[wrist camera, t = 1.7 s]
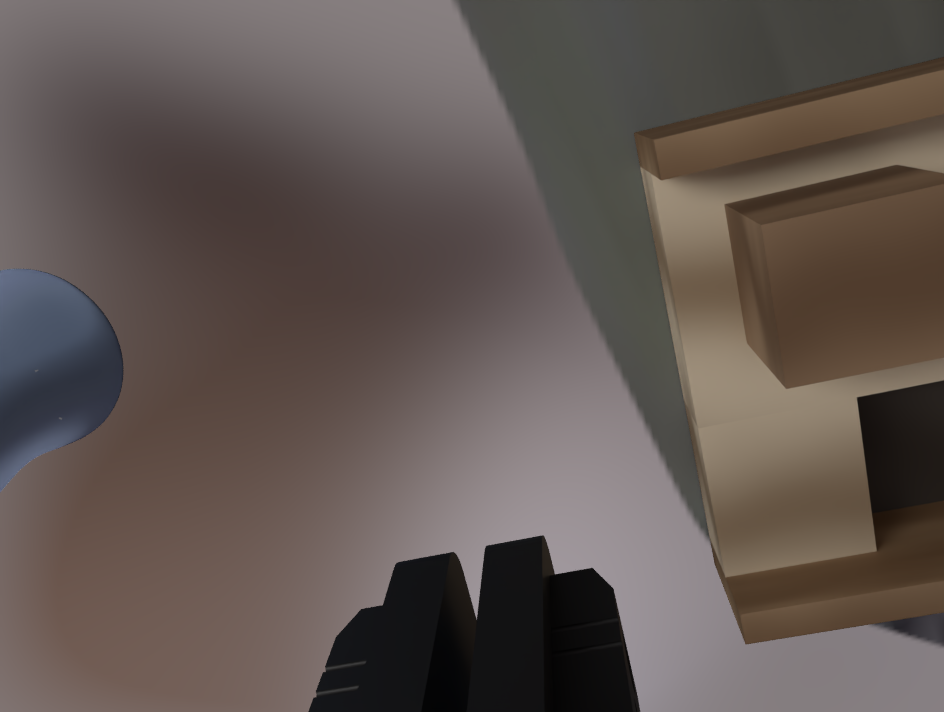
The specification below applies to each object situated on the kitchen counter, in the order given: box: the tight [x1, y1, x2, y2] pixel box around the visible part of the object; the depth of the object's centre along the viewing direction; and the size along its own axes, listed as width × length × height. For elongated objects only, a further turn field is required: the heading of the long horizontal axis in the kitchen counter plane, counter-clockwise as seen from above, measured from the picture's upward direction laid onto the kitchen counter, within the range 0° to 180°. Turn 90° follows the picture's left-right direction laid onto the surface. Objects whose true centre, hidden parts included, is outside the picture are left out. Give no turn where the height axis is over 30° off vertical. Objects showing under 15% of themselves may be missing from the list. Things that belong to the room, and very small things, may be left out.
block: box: [724, 165, 944, 389], centre depth 22 cm, size 4×4×4 cm
